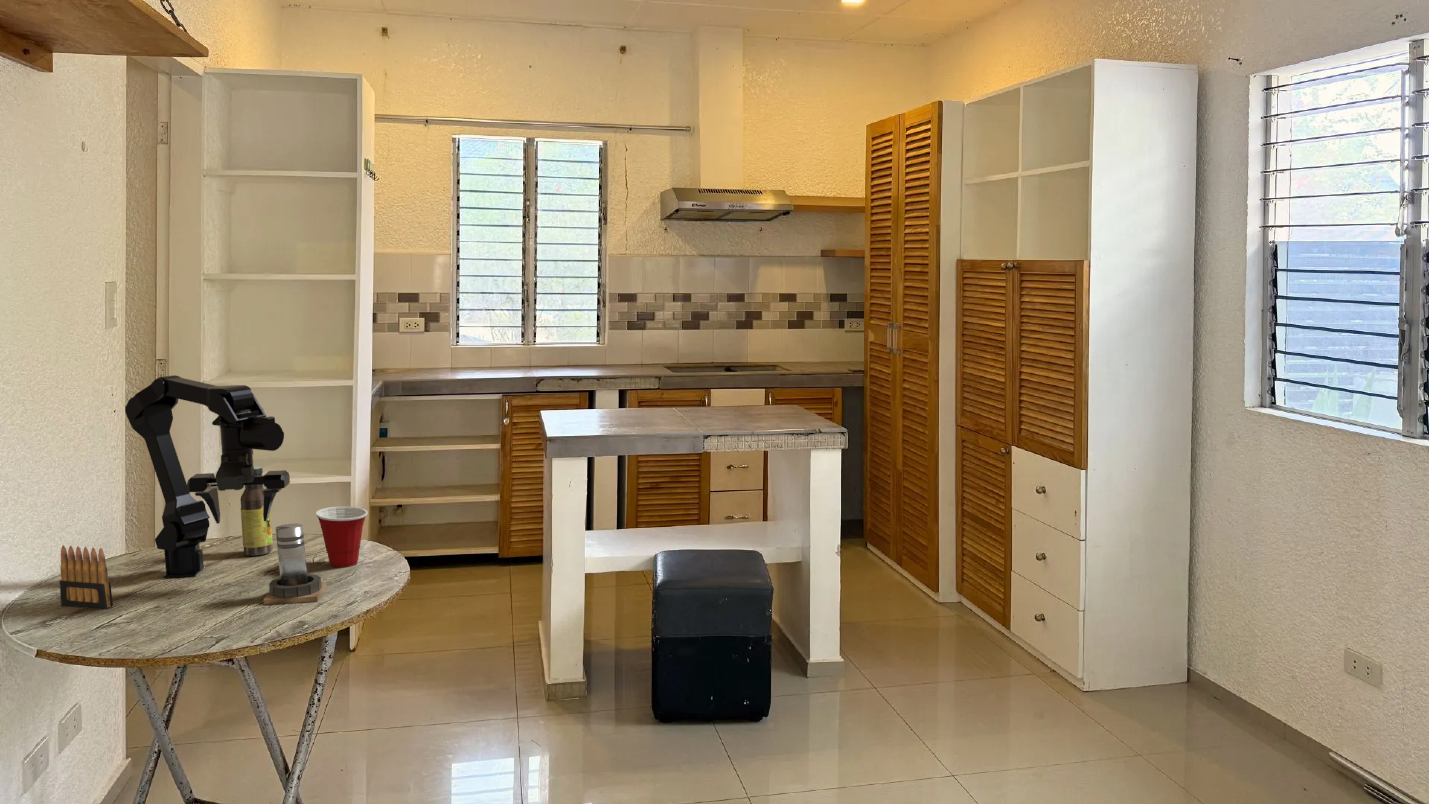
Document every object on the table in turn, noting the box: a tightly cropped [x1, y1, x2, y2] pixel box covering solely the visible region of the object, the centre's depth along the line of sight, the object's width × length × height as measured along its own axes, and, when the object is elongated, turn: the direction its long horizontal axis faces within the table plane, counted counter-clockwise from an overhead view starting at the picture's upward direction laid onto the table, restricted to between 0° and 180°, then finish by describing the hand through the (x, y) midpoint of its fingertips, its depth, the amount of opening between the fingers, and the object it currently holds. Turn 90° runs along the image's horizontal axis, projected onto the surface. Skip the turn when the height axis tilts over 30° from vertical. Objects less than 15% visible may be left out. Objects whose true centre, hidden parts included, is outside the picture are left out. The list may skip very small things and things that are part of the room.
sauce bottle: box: [240, 465, 274, 557], centre depth 251 cm, size 6×6×20 cm
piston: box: [275, 523, 308, 586], centre depth 220 cm, size 5×5×13 cm
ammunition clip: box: [59, 544, 114, 610], centre depth 214 cm, size 11×2×12 cm, turn 76°
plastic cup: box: [315, 505, 369, 568], centre depth 242 cm, size 11×11×12 cm
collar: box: [263, 573, 328, 605], centre depth 220 cm, size 10×10×3 cm
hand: (242, 522), depth 227 cm, fingers open, 9 cm apart
